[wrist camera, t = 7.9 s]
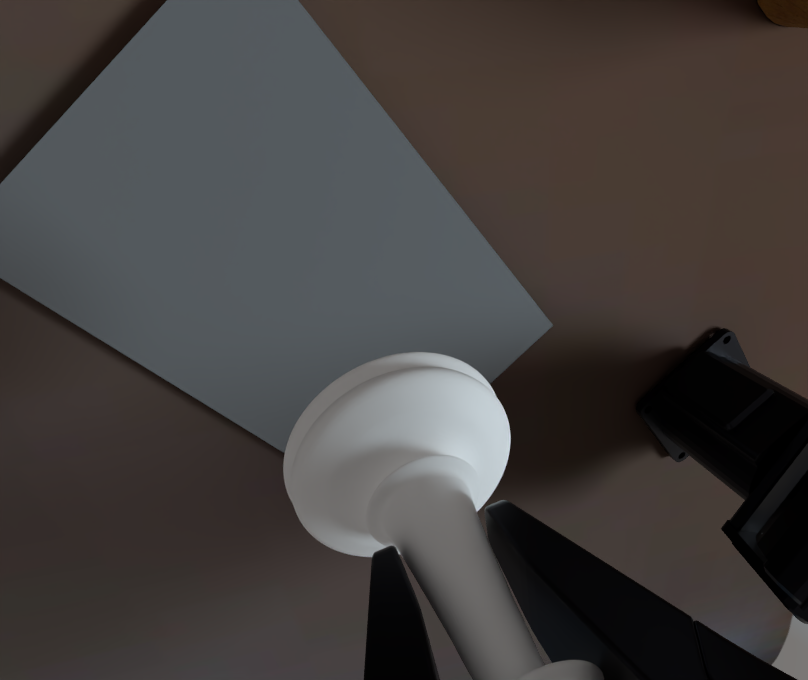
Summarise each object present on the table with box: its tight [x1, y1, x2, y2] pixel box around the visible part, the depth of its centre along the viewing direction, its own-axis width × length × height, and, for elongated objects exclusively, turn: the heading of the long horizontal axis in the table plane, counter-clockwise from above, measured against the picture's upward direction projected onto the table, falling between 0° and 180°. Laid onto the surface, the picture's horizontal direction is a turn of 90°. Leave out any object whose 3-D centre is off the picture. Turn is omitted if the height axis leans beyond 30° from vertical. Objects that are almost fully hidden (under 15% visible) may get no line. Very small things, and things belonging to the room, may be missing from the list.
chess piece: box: [283, 352, 604, 680], centre depth 7 cm, size 5×5×10 cm
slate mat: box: [0, 0, 553, 453], centre depth 19 cm, size 18×12×1 cm, turn 41°
